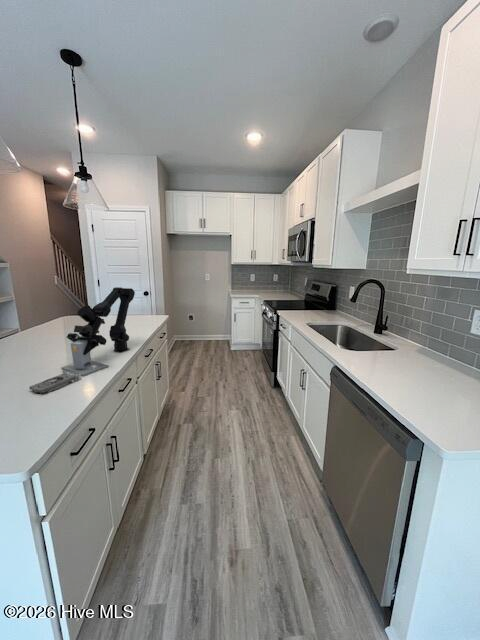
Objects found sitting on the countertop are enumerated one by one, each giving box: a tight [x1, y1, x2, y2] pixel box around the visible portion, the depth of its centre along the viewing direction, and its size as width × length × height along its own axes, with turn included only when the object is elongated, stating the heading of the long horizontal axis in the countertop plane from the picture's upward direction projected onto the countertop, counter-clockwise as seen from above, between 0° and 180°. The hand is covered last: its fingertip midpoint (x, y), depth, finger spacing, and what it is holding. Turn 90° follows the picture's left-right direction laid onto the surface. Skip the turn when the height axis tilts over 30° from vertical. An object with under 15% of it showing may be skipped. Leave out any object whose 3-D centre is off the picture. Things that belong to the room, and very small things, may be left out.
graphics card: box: [28, 370, 82, 394], centre depth 113 cm, size 17×4×12 cm
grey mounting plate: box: [60, 359, 109, 378], centre depth 131 cm, size 13×18×2 cm
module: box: [70, 340, 92, 369], centre depth 127 cm, size 6×5×12 cm
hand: (79, 354), depth 126 cm, fingers closed on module, 5 cm apart
